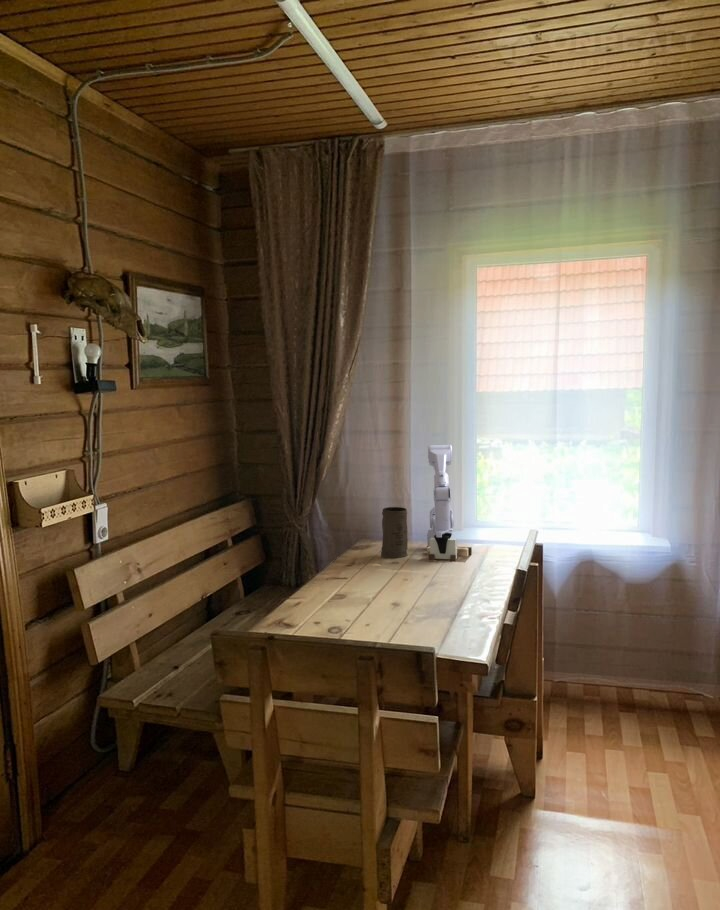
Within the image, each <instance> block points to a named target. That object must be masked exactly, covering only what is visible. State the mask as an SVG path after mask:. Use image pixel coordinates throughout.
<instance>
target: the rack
mask: <svg viewBox="0 0 720 910" xmlns="http://www.w3.org/2000/svg"><path fill="white" fill-rule="evenodd" d="M427 547H429V546H427V545H426V548H427ZM459 547H460V548H468V553H469V555H468V556H467V557H458V553H457V559H456V555H450V559H435V558H434V554H429V555H427V553H425V554H424V555H423V556H422V557H421V558H419V561H425V562H427V561H428V562H448V563H449V562H450V563H451V562H452V563H454V562H455V563H466V562H467V561H468V560H469V559H470V558H471V556H472V553H473V552H472V551H473V550H472V546H459Z"/></svg>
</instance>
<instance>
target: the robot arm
mask: <svg viewBox="0 0 720 910" xmlns="http://www.w3.org/2000/svg"><path fill="white" fill-rule="evenodd" d="M427 459H428V463H429V466H431V467H433V469H434V473H435V474H434V476H433V486H434V488H433V502H434V506H433V507H432V508H431V509H430V511H429V528H430V529H428V530H427V535H426V536H427V537H426V539H427V540H426V541H427V543H426V544H427V545H426V547H427V546H430V539H431V538H435V540H436V542H437V544H438V548H439V552H440V554H445V553H446V546H447V541H448V539H452V538H451V537H452V535H453V533H452V532H454V526H455V525H454V523H455V522H454V511H453V509H452V508H451V503H450V502H451V500H452V492H451V491H452V490H451V486H450V477H449V474H448V473H447V472H446V470H447V467H449V466H450V465H451V464H452V461H453V447H452V444H440V445H439V444H437V445H436V444H435V445H432V444H431V445H430V444H429V445H428V446H427Z"/></svg>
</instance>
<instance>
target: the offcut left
mask: <svg viewBox="0 0 720 910" xmlns="http://www.w3.org/2000/svg"><path fill="white" fill-rule="evenodd" d="M426 554H427V555H429V554H430V546H429V547H427V546H426Z"/></svg>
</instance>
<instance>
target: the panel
mask: <svg viewBox="0 0 720 910" xmlns="http://www.w3.org/2000/svg"><path fill="white" fill-rule="evenodd" d="M457 543H458V540H457V538H451V539H448V541H447V546H446V553H445V554H440V552H439V548H438V544H437V542H436V540H435V538H431V539H430V554H434V558H435V559H450V555H456V559H457V547H458V544H457Z"/></svg>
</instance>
